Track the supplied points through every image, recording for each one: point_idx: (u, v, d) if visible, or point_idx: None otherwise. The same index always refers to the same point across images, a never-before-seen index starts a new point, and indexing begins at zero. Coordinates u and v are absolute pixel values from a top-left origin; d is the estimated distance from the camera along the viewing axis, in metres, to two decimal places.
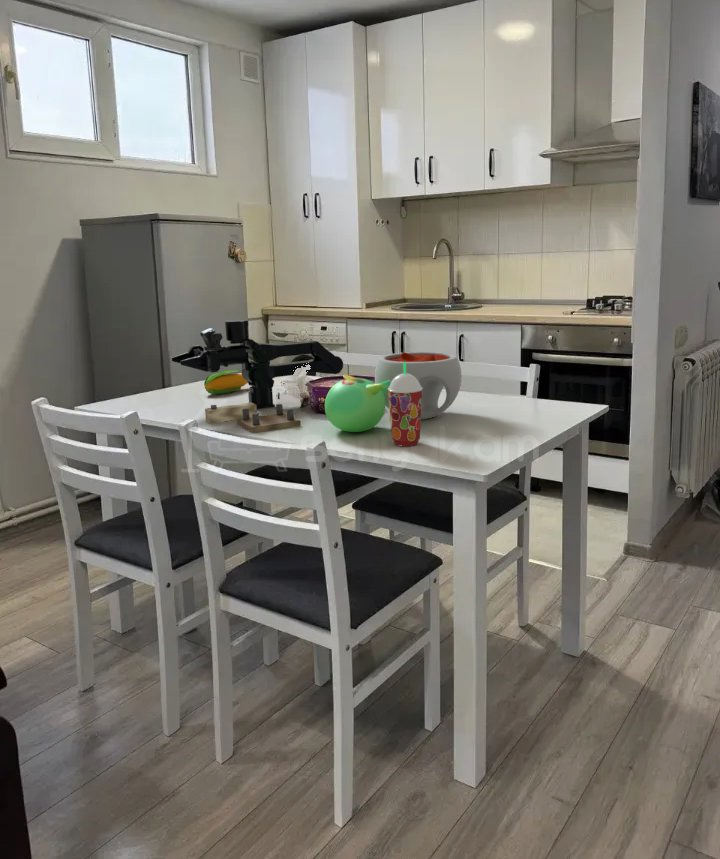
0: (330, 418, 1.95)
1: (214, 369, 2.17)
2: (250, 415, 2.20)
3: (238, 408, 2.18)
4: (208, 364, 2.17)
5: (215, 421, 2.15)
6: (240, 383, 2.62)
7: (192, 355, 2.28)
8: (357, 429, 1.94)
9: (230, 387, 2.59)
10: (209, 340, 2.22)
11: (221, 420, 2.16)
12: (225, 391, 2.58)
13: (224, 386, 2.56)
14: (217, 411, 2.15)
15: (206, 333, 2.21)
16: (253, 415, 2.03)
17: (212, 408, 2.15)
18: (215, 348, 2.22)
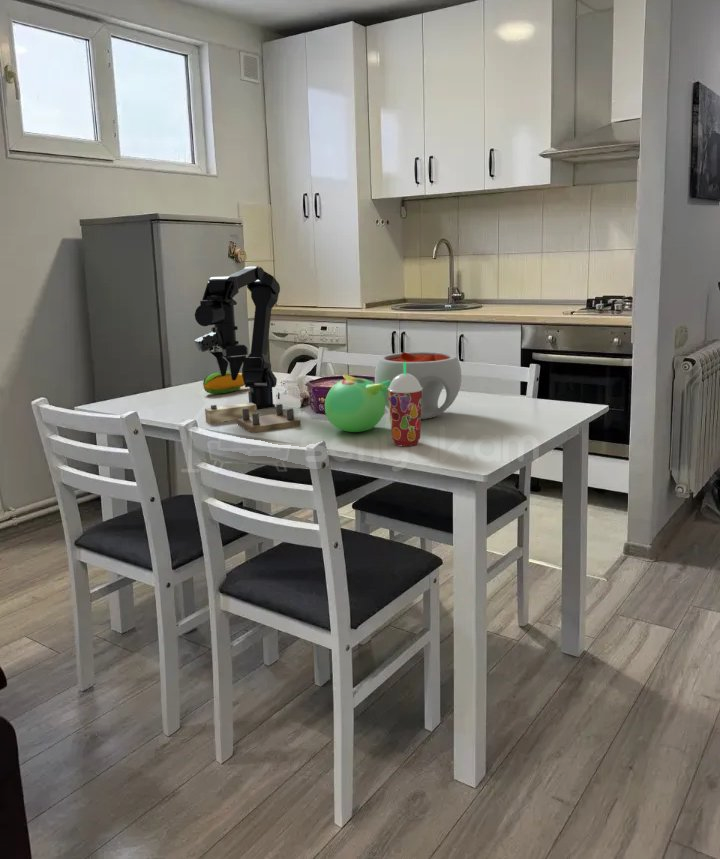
0: (330, 418, 1.95)
1: (245, 351, 2.08)
2: (250, 415, 2.20)
3: (238, 408, 2.18)
4: (239, 356, 2.08)
5: (215, 421, 2.15)
6: (239, 383, 2.62)
7: (219, 354, 2.19)
8: (357, 429, 1.94)
9: (229, 387, 2.59)
10: (210, 346, 2.10)
11: (221, 420, 2.16)
12: (224, 391, 2.58)
13: (222, 386, 2.57)
14: (217, 411, 2.15)
15: (202, 349, 2.09)
16: (253, 415, 2.03)
17: (212, 408, 2.15)
18: (219, 340, 2.10)
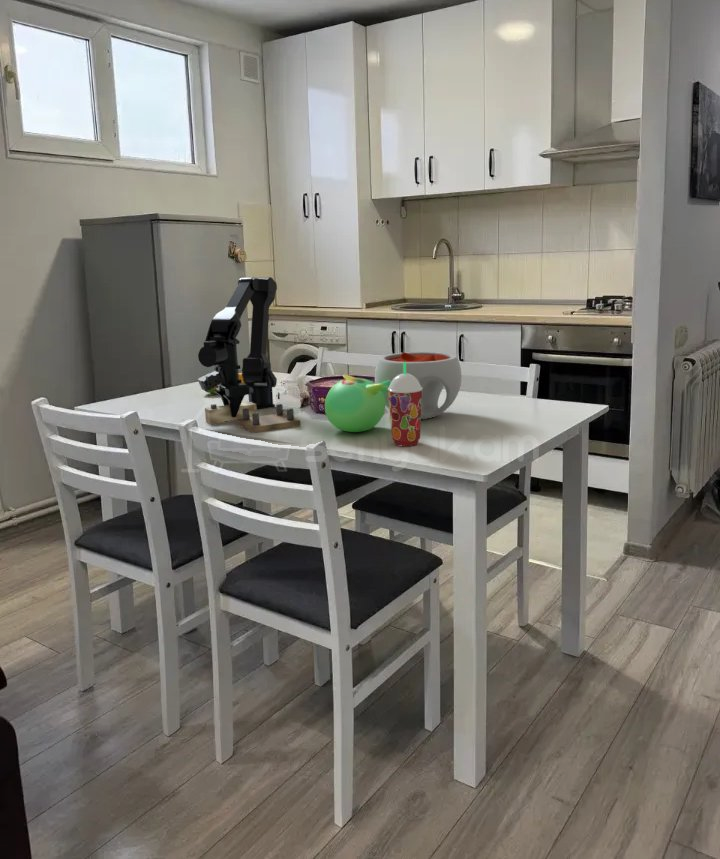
0: (330, 418, 1.95)
1: (248, 391, 2.10)
2: (250, 414, 2.20)
3: None
4: None
5: (215, 420, 2.15)
6: None
7: (225, 392, 2.20)
8: (357, 429, 1.94)
9: None
10: (213, 385, 2.12)
11: (221, 419, 2.16)
12: None
13: None
14: (217, 410, 2.15)
15: (206, 388, 2.12)
16: (253, 415, 2.03)
17: (212, 407, 2.15)
18: (222, 380, 2.13)
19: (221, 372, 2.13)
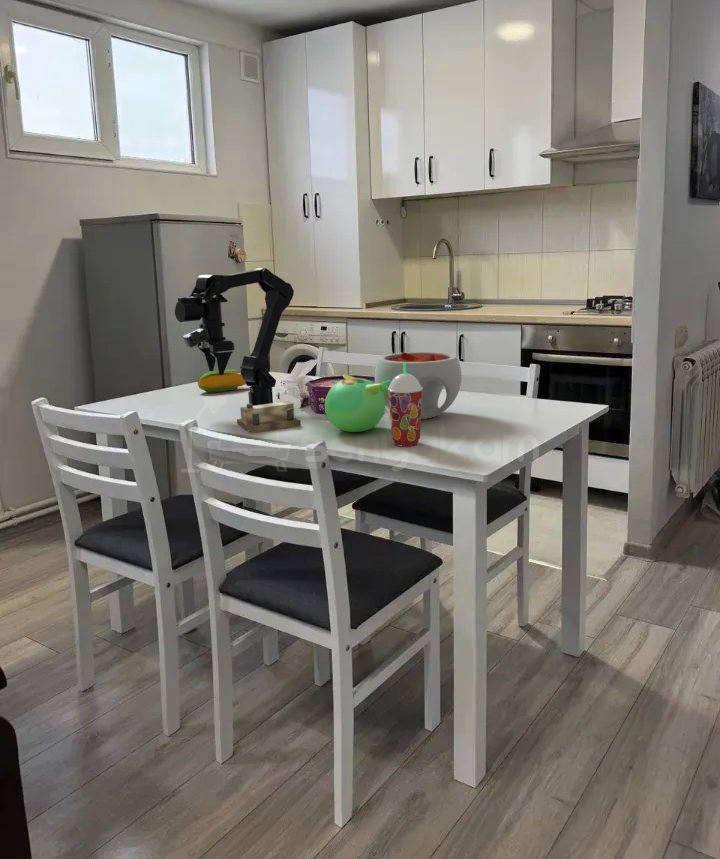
0: (330, 418, 1.95)
1: (231, 347, 2.14)
2: None
3: (275, 407, 2.08)
4: (225, 351, 2.15)
5: (251, 421, 2.06)
6: (236, 382, 2.64)
7: (207, 349, 2.25)
8: (357, 429, 1.94)
9: (224, 386, 2.62)
10: (198, 342, 2.16)
11: None
12: (218, 389, 2.61)
13: (215, 384, 2.60)
14: (253, 410, 2.05)
15: (190, 345, 2.15)
16: (253, 415, 2.03)
17: (248, 407, 2.06)
18: (206, 336, 2.16)
19: (205, 329, 2.16)
